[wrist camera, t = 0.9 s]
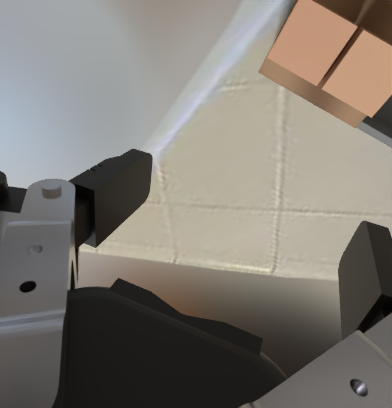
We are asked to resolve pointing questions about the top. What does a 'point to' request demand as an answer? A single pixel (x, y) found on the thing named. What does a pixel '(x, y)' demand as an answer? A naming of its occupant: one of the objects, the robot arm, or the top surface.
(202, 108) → the top surface
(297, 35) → the tile
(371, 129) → the tray
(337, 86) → the tile
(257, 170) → the top surface
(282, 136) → the top surface
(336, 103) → the brown block
